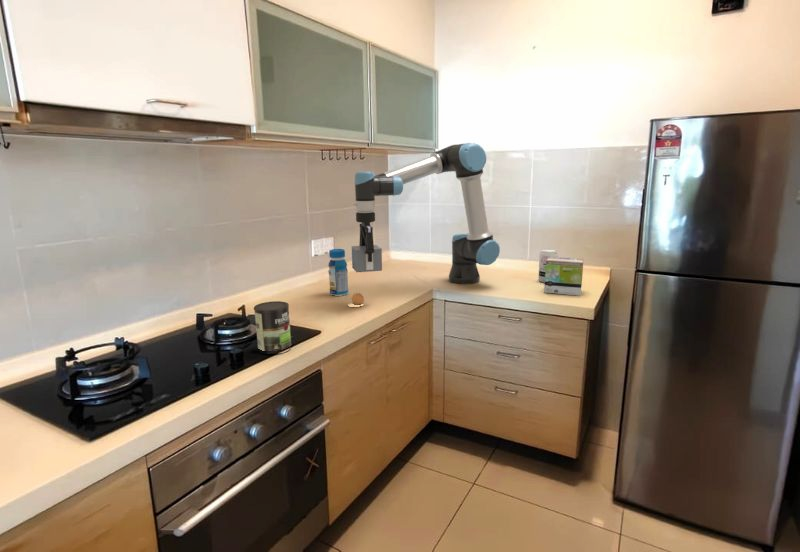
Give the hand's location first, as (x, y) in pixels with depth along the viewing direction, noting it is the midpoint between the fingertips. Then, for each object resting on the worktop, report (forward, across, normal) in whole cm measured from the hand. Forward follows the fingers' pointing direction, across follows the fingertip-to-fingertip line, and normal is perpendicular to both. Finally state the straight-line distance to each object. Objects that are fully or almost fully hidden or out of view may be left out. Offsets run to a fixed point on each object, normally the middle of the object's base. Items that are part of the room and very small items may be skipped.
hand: (367, 267), depth 186 cm
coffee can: (+16, +39, -37) cm, 56 cm away
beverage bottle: (+16, -20, -9) cm, 27 cm away
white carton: (+15, -9, +89) cm, 91 cm away
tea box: (+15, +10, +85) cm, 86 cm away
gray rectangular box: (+1, 0, 0) cm, 1 cm away
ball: (+13, 0, -4) cm, 14 cm away
